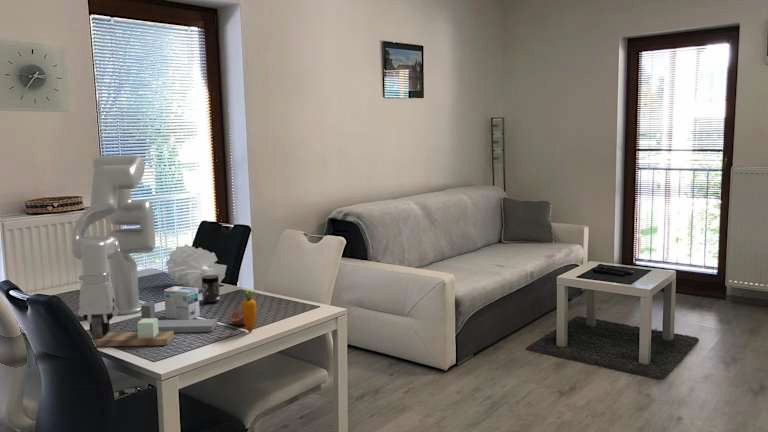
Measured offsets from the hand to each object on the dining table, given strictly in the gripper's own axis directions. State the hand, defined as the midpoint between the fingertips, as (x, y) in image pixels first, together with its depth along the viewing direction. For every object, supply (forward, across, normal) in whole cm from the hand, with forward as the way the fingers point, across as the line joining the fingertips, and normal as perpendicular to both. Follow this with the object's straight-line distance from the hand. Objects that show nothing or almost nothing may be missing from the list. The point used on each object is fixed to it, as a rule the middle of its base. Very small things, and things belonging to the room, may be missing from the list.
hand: (100, 333), depth 213 cm
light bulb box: (+4, +19, +28) cm, 34 cm away
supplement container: (+3, +25, +48) cm, 54 cm away
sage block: (+1, +16, 0) cm, 16 cm away
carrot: (+3, +47, +8) cm, 48 cm away
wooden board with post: (+3, +10, 0) cm, 11 cm away
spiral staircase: (+4, +13, +73) cm, 74 cm away
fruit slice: (+4, +42, +17) cm, 46 cm away
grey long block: (+3, +22, +13) cm, 26 cm away
